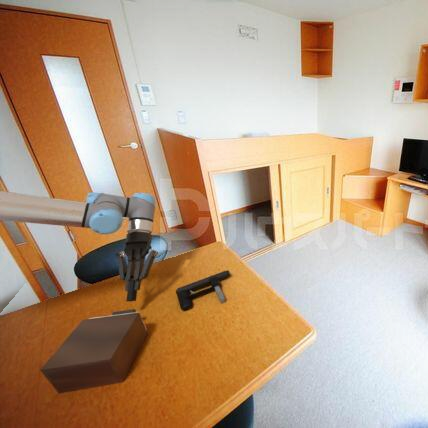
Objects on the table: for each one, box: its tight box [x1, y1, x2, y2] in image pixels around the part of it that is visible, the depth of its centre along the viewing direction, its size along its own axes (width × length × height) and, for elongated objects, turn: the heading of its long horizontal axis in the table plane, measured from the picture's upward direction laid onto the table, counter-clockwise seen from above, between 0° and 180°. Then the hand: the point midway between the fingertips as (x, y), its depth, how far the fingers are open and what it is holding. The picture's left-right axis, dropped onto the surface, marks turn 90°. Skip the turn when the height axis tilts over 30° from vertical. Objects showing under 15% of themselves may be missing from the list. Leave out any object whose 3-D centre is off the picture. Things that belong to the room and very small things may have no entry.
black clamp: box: [175, 269, 231, 311], centre depth 91 cm, size 3×20×16 cm
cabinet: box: [39, 311, 149, 394], centre depth 66 cm, size 15×15×10 cm
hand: (131, 300), depth 80 cm, fingers closed
